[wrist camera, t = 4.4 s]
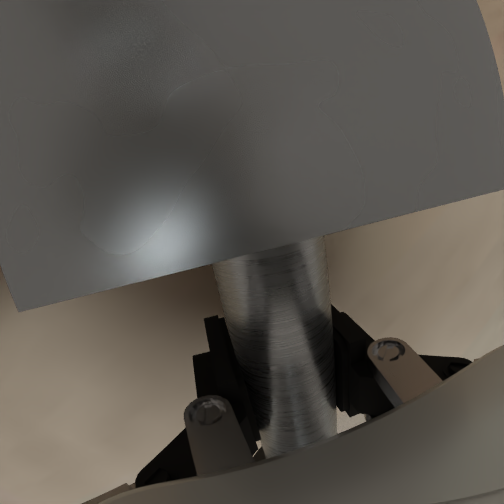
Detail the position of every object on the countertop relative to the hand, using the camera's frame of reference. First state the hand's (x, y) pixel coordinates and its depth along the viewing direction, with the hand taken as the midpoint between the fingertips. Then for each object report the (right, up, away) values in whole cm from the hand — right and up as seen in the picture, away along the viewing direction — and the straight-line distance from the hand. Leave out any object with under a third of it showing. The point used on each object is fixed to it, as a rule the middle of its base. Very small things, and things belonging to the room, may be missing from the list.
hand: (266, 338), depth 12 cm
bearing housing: (-2, +9, +1) cm, 10 cm away
